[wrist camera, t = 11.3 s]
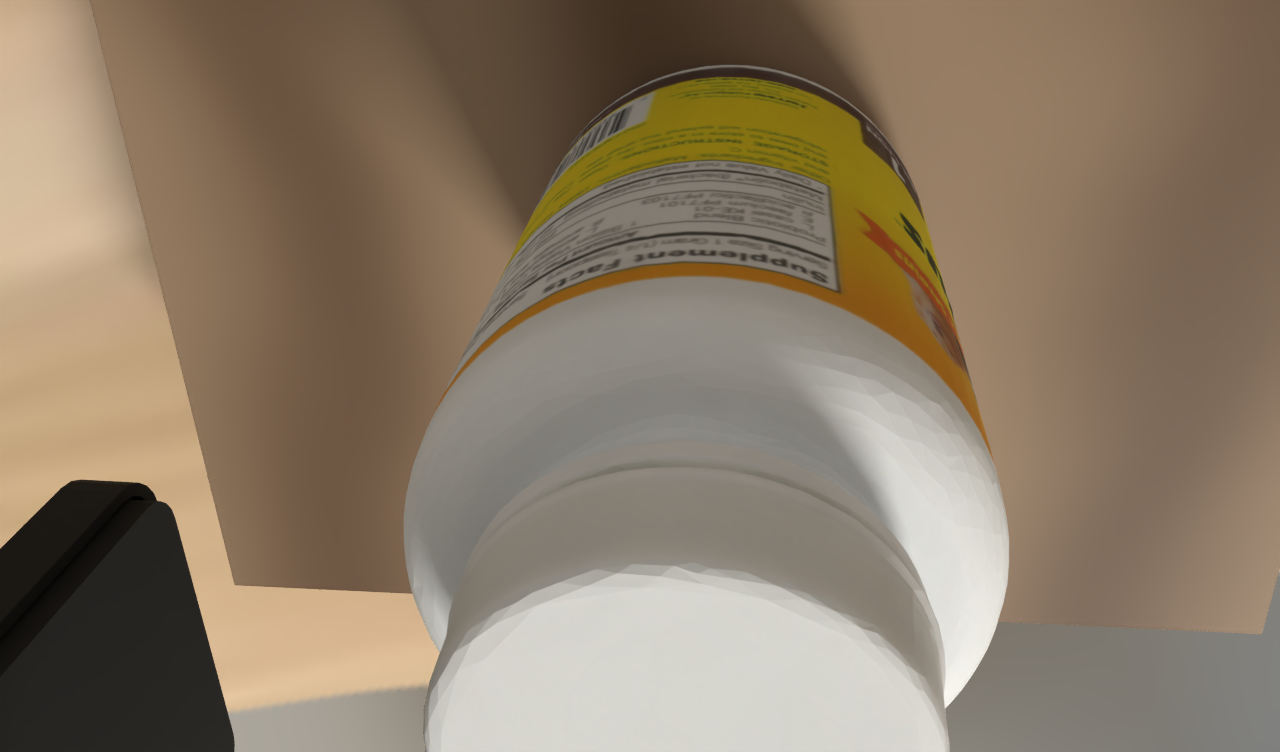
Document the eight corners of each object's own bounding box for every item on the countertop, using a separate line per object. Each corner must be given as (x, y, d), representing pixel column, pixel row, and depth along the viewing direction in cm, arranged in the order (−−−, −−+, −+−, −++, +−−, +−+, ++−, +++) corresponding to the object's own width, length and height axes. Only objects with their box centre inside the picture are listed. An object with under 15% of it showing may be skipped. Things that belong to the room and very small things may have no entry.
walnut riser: (1348, -328, 18) (1526, -342, 13) (1179, 470, 24) (1261, 633, 20) (193, -278, 20) (22, -277, 16) (327, 442, 27) (234, 585, 22)
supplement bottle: (897, 414, 19) (995, 1048, 10) (547, 386, 19) (346, 971, 10) (953, 59, 16) (1155, 503, 7) (543, 37, 17) (263, 430, 8)
